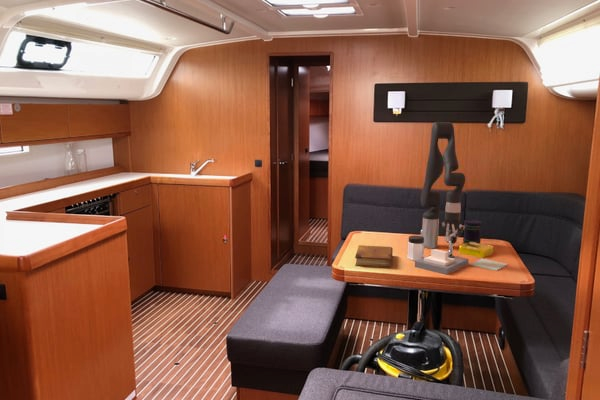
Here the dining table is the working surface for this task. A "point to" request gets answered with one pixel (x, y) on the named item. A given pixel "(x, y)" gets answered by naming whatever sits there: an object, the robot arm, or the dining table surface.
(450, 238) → the t key
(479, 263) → the mat
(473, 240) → the storage jar
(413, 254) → the jar
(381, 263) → the diary
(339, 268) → the dining table surface
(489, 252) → the element tile
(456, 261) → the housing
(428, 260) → the cover
